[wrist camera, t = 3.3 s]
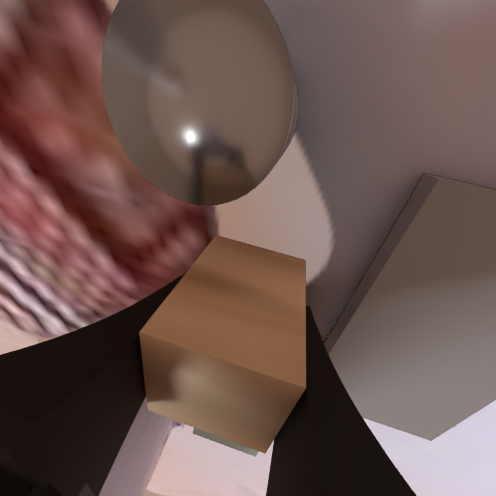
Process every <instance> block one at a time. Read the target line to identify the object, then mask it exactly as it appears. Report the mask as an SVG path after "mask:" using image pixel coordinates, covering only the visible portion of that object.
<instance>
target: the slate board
mask: <svg viewBox="0 0 496 496" xmlns="http://www.w3.org/2000/svg"><path fill="white" fill-rule="evenodd" d="M324 345H325V347H326V350H327V352H328V354H329V357H330V359H331V361H332V363H333V365H334V367H335V369H336V371H337V373H338V375H339V377H340V379H341V381H342V383H343V385H344V387H345V389H346V390H347V392H348V394H349V396H350V397H351V399H352V401H353V403H354V404H355V406H356V408H357V409H358V411H359V413H360V414H361V416H362V417H363V418H366V419H369V420H371V421H374V422H377V423H380V424H383V425H386V426H389V427H392V428H395V429H398V430H401V431H404V432H407V433H410V434H413V435H416V436H419V437H422V438H425V439H428V440H431V441H432V440H433V439H435V438H436V437H438V436H440V435H441V434H443V433H444V432H446V431H447V430H449V429H451V428H452V427H454V426H455V425H457V424H458V423H460V422H462V421H463V420H465V419H466V418H468V417H469V416H471V415H473V414H474V413H476V412H477V411H479V410H480V409H482V408H484V407H485V406H487V405H488V404H490V403H491V402H493V401H495V400H496V189H492V188H487V187H483V186H478V185H474V184H470V183H465V182H461V181H457V180H452V179H448V178H443V177H439V176H435V175H430V174H426V173H424V175H423V177H422V178H421V180H420V182H419V183H418V185H417V187H416V188H415V190H414V192H413V194H412V195H411V197H410V199H409V200H408V202H407V204H406V205H405V207H404V209H403V211H402V212H401V214H400V216H399V217H398V219H397V221H396V222H395V224H394V226H393V228H392V229H391V231H390V233H389V234H388V236H387V238H386V239H385V241H384V243H383V245H382V246H381V248H380V250H379V251H378V253H377V255H376V256H375V258H374V260H373V262H372V263H371V265H370V267H369V268H368V270H367V272H366V273H365V275H364V277H363V279H362V280H361V282H360V284H359V285H358V287H357V289H356V290H355V292H354V294H353V296H352V297H351V299H350V301H349V302H348V304H347V306H346V308H345V309H344V311H343V313H342V314H341V316H340V318H339V319H338V321H337V323H336V325H335V326H334V328H333V330H332V331H331V333H330V335H329V336H328V338H327V340H326V342H325V343H324Z"/></svg>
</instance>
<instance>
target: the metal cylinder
mask: <svg viewBox="0 0 496 496" xmlns="http://www.w3.org/2000/svg"><path fill="white" fill-rule="evenodd" d="M102 84H103V92H104V98H105V104H106V108H107V111H108V115H109V119H110V121H111V124H112V127H113V129H114V132H115V134H116V136H117V138H118V140H119V143H120V144H121V146H122V148H123V150H124V151H125V153H126V155H127V156H128V158H129V159H130V160H131V162H132V163H133V165H134V166H135V167H136V168H137V169H138V170H139V172H140V173H141V174H142V175H143V176H144V177H145V178H146V179H147V180H148V181H149V182H151V183H152V184H153V185H154V186H156V187H157V188H158V189H160V190H161V191H163V192H165V193H166V194H168V195H170V196H172V197H174V198H176V199H178V200H181V201H184V202H187V203H192V204H197V205H218V204H223V203H227V202H230V201H233V200H236V199H238V198H240V197H242V196H244V195H246V194H247V193H249V192H250V191H251V190H252V189H254V188H255V187H256V186H258V185H259V183H261V182H262V181H263V180H264V179H265V178H266V176H267V175H268V174H269V172H270V171H271V170H272V168H273V167H274V166H275V164H276V163H277V162H278V160H279V159H280V158H281V156H282V155H283V153H284V152H285V151H286V149H287V147H288V146H289V144H290V142H291V140H292V137H293V135H294V132H295V129H296V124H297V119H298V95H297V89H296V84H295V80H294V76H293V72H292V68H291V64H290V60H289V56H288V52H287V48H286V45H285V42H284V39H283V37H282V34H281V32H280V29H279V27H278V25H277V23H276V21H275V19H274V17H273V16H272V14H271V12H270V10H269V9H268V7H267V6H266V4H265V3H264V2H263V0H119V2H118V4H117V6H116V7H115V9H114V11H113V13H112V16H111V19H110V21H109V24H108V27H107V31H106V35H105V40H104V45H103V54H102Z"/></svg>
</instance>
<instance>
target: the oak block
mask: <svg viewBox="0 0 496 496" xmlns="http://www.w3.org/2000/svg"><path fill="white" fill-rule="evenodd" d="M305 267H306V266H305V260H303V259H300V258H296V257H293V256H289V255H285V254H282V253H278V252H274V251H271V250H267V249H264V248H260V247H257V246H253V245H250V244H246V243H242V242H239V241H235V240H231V239H228V238H224V237H221V236H217V235H216V236H215V237H214V239H213V240H212V241H211V242H210V244H209V245H208V246H207V247H206V249H205V250H204V251H203V252H202V254H201V255H200V256H199V257H198V259H197V260H196V261H195V262H194V264H193V265H192V266H191V268H190V269H189V270H188V271H187V273H186V274H185V275H184V276H183V278H182V279H181V280H180V281H179V283H178V284H177V285H176V286H175V288H174V289H173V290H172V291H171V293H170V294H169V295H168V296H167V298H166V299H165V300H164V302H163V303H162V304H161V305H160V307H159V308H158V309H157V310H156V312H155V313H154V314H153V315H152V317H151V318H150V319H149V320H148V322H147V323H146V324H145V325H144V327H143V328H142V329H141V331H140V332H139V335H140V344H141V354H142V363H143V372H144V381H145V390H146V399H147V409H148V410H149V411H152V412H154V413H157V414H160V415H162V416H165V417H168V418H171V419H173V420H176V421H179V422H181V423H184V424H187V425H189V426H192V427H195V428H198V429H200V430H203V431H206V432H208V433H211V434H214V435H217V436H219V437H222V438H225V439H227V440H230V441H233V442H236V443H238V444H241V445H244V446H246V447H249V448H252V449H254V450H257V451H260V452H263V453H266V451H267V450H268V448H269V447H270V445H271V443H272V442H273V440H274V439H275V437H276V435H277V434H278V432H279V430H280V429H281V427H282V426H283V424H284V422H285V421H286V419H287V418H288V416H289V414H290V413H291V411H292V410H293V408H294V406H295V405H296V403H297V402H298V400H299V398H300V397H301V395H302V394H303V392H304V390H305V389H306V277H305V276H306V275H305V274H306V273H305V272H306V268H305Z"/></svg>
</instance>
